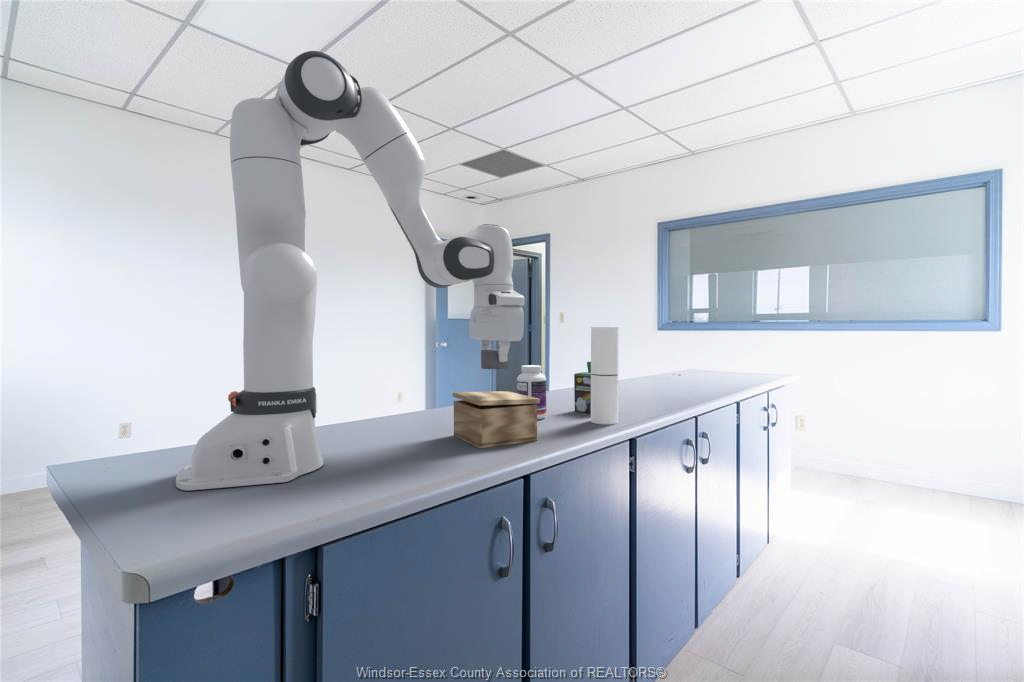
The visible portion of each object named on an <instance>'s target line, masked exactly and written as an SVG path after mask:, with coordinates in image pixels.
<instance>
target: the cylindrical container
mask: <svg viewBox="0 0 1024 682" xmlns="http://www.w3.org/2000/svg"><path fill="white" fill-rule="evenodd" d="M619 329H620V327H617V326H613V327H612V326H610V327H609V326H600V327H599V326H591V327H590V362H591V414H590V423H592V424H597V425H615V424H618V423H619V355H620V352H619V341H620V339H619V336H620V334H619V332H620V330H619Z"/></svg>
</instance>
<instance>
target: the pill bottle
mask: <svg viewBox="0 0 1024 682" xmlns="http://www.w3.org/2000/svg"><path fill="white" fill-rule="evenodd" d="M520 368H521V372H522V373H521V374H518V376H517V378H516V393H518V394H522V395H526V396H530V397H534V398H538V399H540V403H538V404H536V405H537V421H538V420H543V419H544V418H546V416H547V378H546V376H545V374H543V373H542V365H537V364H536V365H535V364H530V365H529V364H525V365H521V367H520Z"/></svg>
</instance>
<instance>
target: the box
mask: <svg viewBox="0 0 1024 682" xmlns="http://www.w3.org/2000/svg"><path fill="white" fill-rule="evenodd" d="M453 436H454V437H456V438H458V439H460V440H463V441H464V442H465V443H468V444H470V445H472V446H473V447H475V448H478V449H486V448H494V447H500V446H501V447H502V446H509V445H514V444H515V445H516V444H525V443H531V442H532V443H533V442H537V441H538V420H537V405H536V404H509V405H480V406H479V405H476V404H473V403H470V402H467V401H464V400H461V399H458V400H453Z"/></svg>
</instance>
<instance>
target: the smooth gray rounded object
mask: <svg viewBox="0 0 1024 682" xmlns="http://www.w3.org/2000/svg"><path fill="white" fill-rule="evenodd" d="M497 354H499V349H490V350H480V362H481V363H480V369H483V370H503V369H504V370H506V369H508V368H509V357H508V356H509V352H508V353H507V361H506V362H498V361H497Z"/></svg>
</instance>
